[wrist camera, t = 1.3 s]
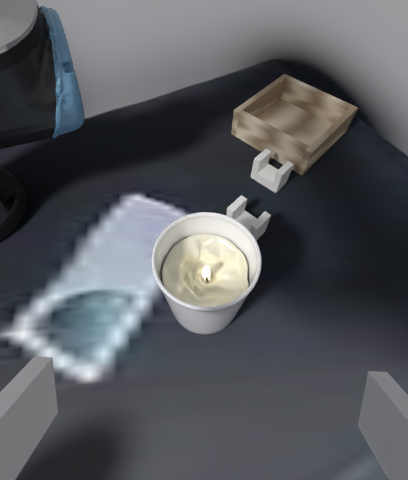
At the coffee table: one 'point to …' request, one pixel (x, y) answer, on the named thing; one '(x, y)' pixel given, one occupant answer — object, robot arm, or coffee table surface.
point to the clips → (269, 179)
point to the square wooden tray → (292, 122)
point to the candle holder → (206, 269)
